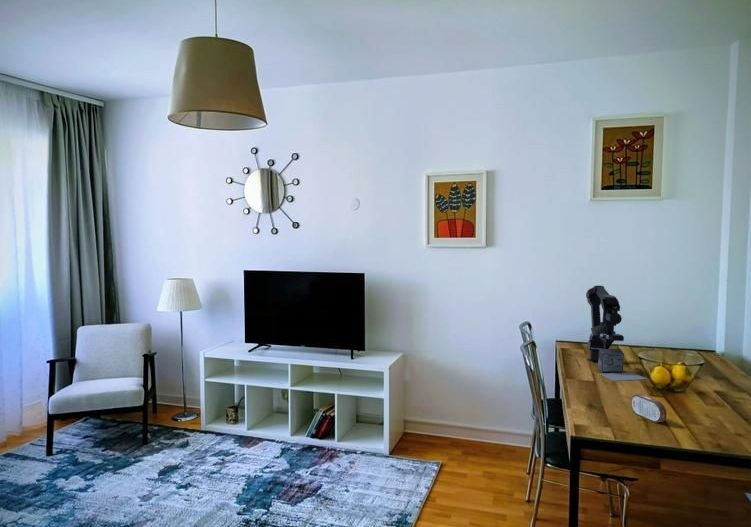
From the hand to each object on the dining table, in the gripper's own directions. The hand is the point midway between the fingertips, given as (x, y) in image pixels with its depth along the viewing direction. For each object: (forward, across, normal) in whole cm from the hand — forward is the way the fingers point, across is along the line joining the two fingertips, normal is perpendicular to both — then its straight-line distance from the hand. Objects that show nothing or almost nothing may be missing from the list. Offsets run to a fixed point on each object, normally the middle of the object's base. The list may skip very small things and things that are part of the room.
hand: (606, 350), depth 262 cm
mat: (+10, +12, +2) cm, 16 cm away
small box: (+10, +2, +1) cm, 10 cm away
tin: (+11, +65, -25) cm, 71 cm away
